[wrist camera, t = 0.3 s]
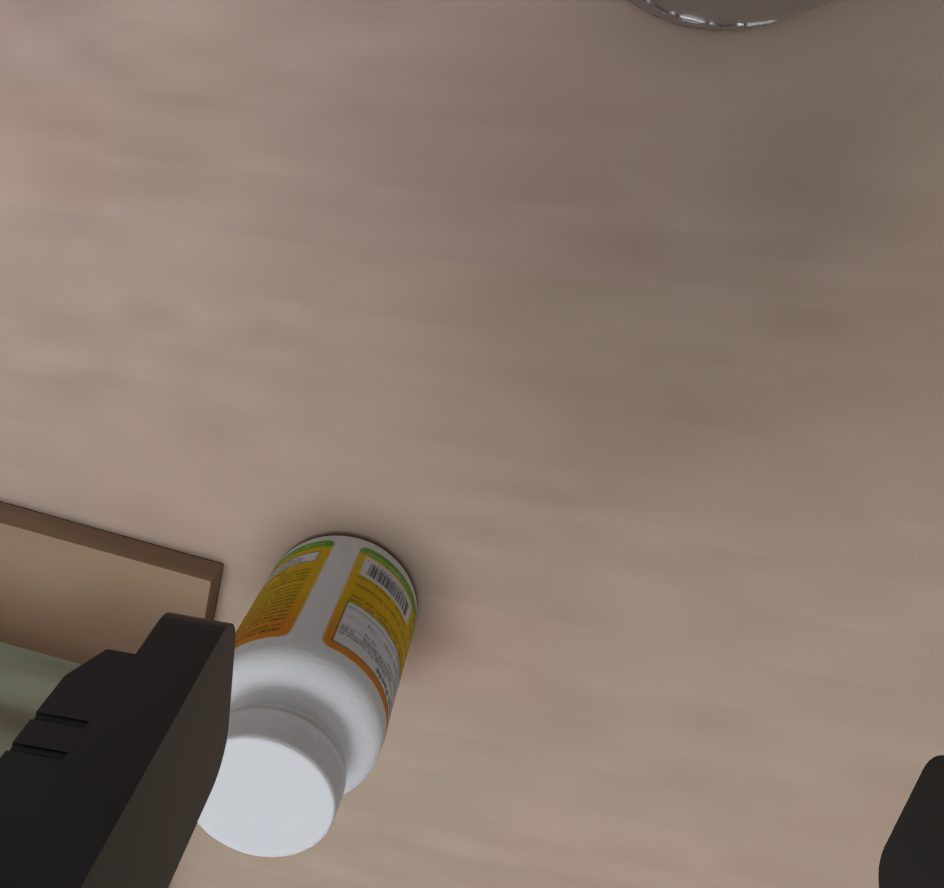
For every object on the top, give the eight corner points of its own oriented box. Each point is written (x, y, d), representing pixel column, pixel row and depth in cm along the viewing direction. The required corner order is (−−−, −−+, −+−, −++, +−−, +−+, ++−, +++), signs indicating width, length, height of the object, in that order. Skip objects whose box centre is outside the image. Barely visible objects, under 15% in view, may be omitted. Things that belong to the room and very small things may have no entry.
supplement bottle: (264, 643, 32) (149, 855, 23) (279, 516, 30) (159, 693, 21) (406, 674, 32) (347, 899, 23) (431, 548, 30) (376, 740, 21)
